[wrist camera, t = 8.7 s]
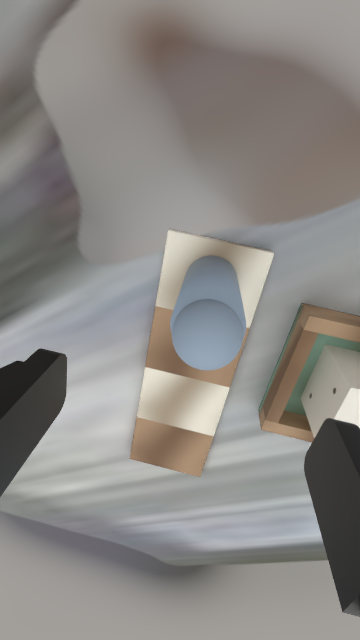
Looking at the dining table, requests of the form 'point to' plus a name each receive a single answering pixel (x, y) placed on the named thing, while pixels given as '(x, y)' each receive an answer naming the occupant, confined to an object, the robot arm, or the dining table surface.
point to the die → (333, 388)
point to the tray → (303, 367)
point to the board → (178, 377)
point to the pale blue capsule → (208, 315)
